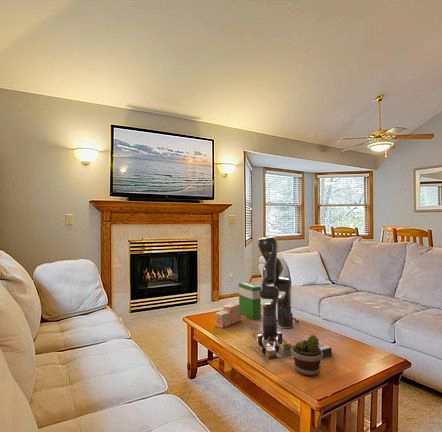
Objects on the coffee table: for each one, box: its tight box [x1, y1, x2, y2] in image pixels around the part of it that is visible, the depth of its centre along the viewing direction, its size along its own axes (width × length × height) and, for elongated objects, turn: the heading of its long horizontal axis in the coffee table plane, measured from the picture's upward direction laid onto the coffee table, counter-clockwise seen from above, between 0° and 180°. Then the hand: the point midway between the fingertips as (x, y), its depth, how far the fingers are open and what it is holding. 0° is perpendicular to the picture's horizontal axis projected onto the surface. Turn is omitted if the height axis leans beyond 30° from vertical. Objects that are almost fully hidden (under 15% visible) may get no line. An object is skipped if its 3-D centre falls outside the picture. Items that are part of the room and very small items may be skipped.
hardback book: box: [238, 281, 262, 321], centre depth 233 cm, size 18×7×24 cm, turn 26°
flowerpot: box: [290, 333, 324, 377], centre depth 148 cm, size 14×15×20 cm
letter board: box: [251, 336, 294, 361], centre depth 171 cm, size 22×20×4 cm
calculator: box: [297, 340, 333, 358], centre depth 170 cm, size 11×4×15 cm
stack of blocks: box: [214, 302, 241, 329], centre depth 217 cm, size 21×6×12 cm, turn 136°
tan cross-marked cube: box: [266, 347, 276, 356], centre depth 165 cm, size 4×4×3 cm
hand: (270, 352), depth 165 cm, fingers open, 7 cm apart
